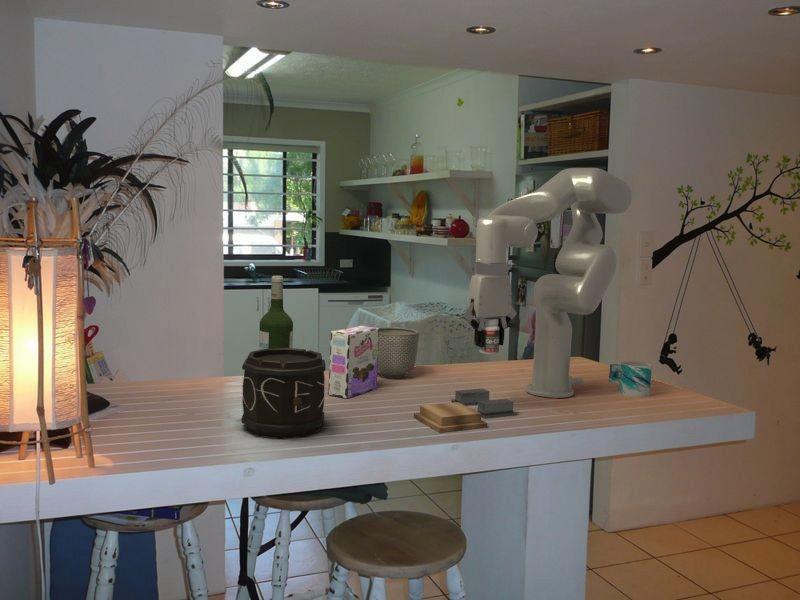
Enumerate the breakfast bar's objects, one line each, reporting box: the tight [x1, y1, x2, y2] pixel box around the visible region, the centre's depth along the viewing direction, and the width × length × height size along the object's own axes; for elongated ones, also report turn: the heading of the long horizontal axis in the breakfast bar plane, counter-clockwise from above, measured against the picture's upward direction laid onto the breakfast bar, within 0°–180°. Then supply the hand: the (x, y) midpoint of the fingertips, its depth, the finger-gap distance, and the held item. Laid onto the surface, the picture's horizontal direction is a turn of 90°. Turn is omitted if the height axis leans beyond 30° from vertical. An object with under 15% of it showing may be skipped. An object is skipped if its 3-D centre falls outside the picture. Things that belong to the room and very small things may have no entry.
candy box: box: [328, 325, 379, 399], centre depth 190 cm, size 14×6×16 cm, turn 148°
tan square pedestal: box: [413, 402, 488, 433], centre depth 167 cm, size 12×12×3 cm
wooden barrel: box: [240, 347, 327, 440], centre depth 158 cm, size 18×18×16 cm
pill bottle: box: [478, 317, 500, 355], centre depth 179 cm, size 5×5×8 cm
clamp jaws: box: [450, 388, 518, 419], centre depth 181 cm, size 9×15×3 cm, turn 26°
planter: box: [377, 326, 420, 380], centre depth 211 cm, size 14×14×13 cm
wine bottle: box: [258, 275, 294, 350], centre depth 179 cm, size 8×8×30 cm
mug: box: [608, 360, 653, 399], centre depth 203 cm, size 8×12×8 cm
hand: (489, 344), depth 180 cm, fingers closed on pill bottle, 4 cm apart
